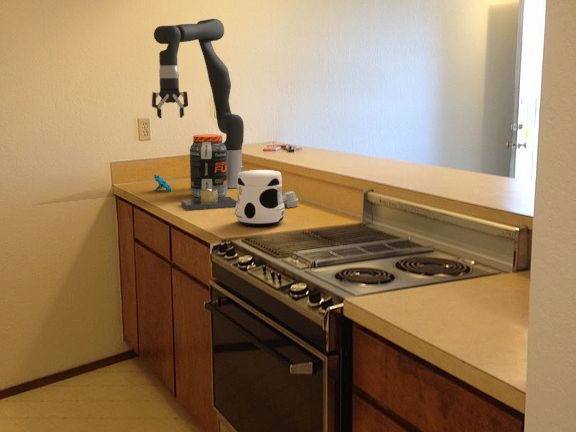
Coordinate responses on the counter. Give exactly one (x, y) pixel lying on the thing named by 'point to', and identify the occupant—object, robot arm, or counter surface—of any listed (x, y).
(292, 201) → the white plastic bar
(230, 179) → the robot arm
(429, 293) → the counter surface
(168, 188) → the gear
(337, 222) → the counter surface
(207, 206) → the post stand
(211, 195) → the brass hub
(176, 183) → the counter surface
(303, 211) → the counter surface
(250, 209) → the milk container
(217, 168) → the supplement tub
